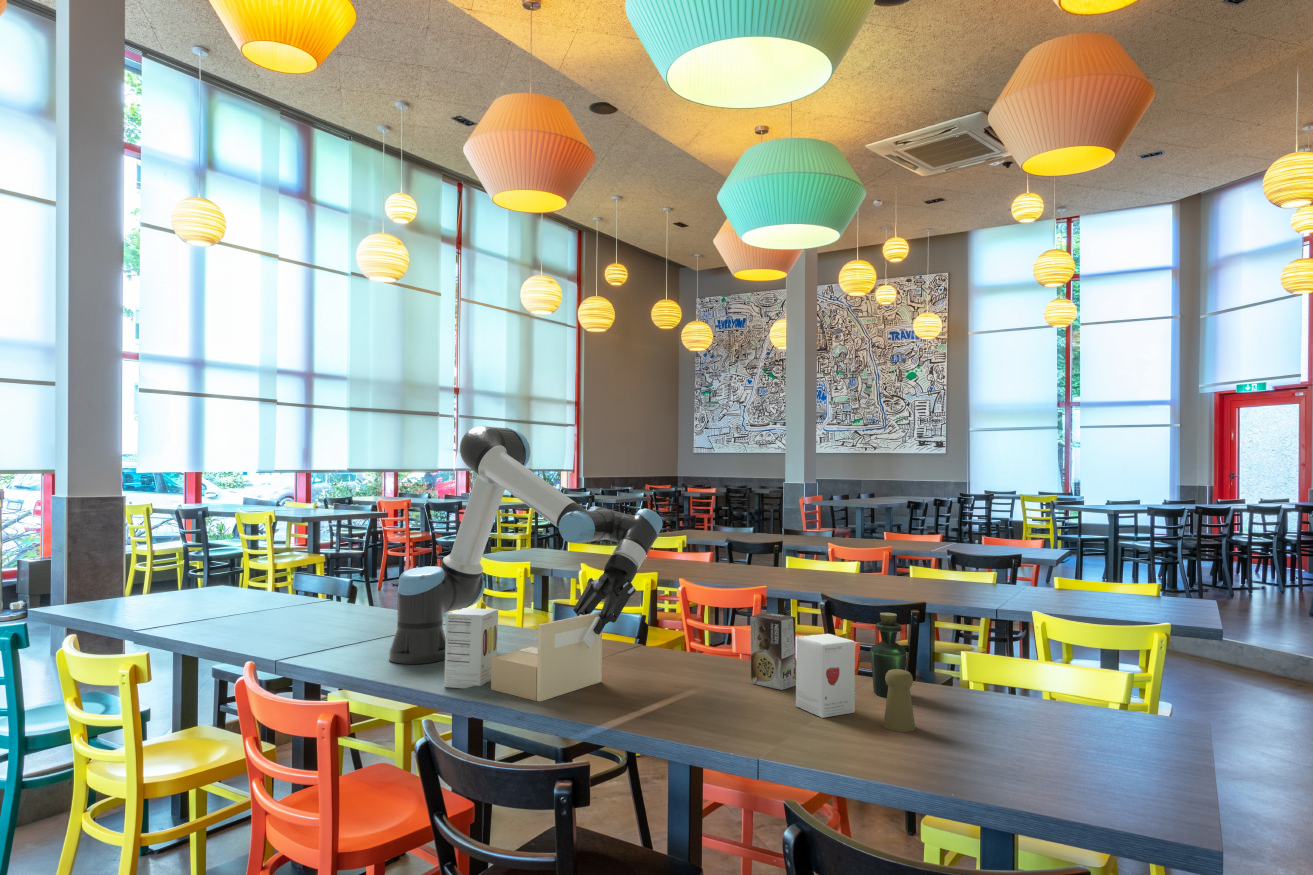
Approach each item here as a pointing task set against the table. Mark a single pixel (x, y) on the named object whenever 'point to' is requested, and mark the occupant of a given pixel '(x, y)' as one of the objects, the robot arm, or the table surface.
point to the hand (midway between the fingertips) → (578, 642)
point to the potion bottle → (886, 653)
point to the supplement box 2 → (825, 675)
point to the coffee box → (773, 650)
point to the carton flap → (567, 657)
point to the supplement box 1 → (470, 646)
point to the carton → (516, 673)
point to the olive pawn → (899, 701)
